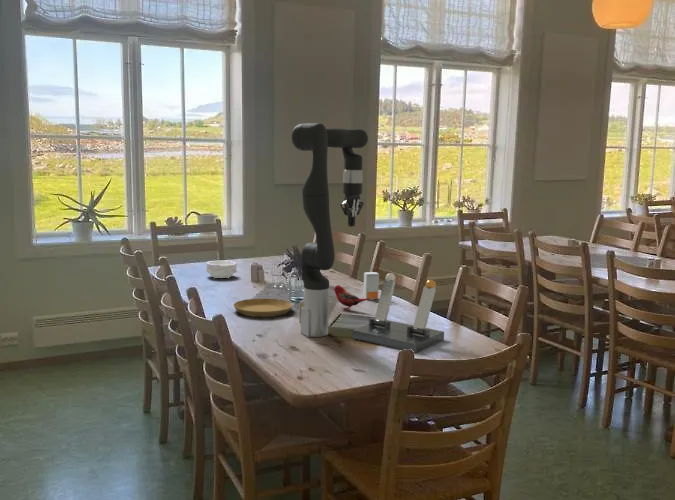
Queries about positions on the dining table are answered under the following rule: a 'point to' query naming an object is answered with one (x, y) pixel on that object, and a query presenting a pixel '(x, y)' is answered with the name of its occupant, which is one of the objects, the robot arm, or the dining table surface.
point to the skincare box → (370, 285)
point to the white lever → (384, 300)
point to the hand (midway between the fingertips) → (351, 226)
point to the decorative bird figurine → (346, 297)
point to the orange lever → (424, 308)
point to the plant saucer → (263, 307)
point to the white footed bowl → (221, 268)
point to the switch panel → (397, 336)
